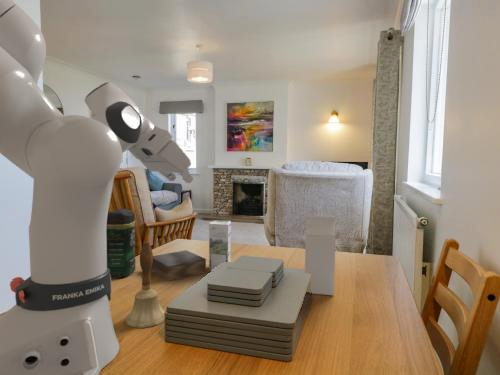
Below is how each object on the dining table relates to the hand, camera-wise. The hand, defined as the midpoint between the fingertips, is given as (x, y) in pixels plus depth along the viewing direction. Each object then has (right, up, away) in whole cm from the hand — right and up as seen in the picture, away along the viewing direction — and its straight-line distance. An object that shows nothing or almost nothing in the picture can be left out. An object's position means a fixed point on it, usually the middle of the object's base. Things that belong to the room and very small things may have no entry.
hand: (181, 180), depth 92 cm
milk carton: (+36, -28, -4) cm, 46 cm away
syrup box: (+9, -27, +12) cm, 31 cm away
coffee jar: (-19, -27, +7) cm, 34 cm away
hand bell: (-3, -29, -21) cm, 36 cm away
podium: (-3, -27, +10) cm, 28 cm away
